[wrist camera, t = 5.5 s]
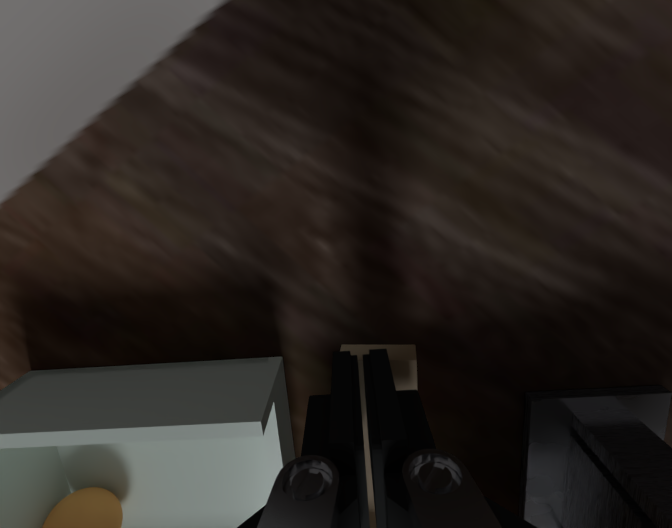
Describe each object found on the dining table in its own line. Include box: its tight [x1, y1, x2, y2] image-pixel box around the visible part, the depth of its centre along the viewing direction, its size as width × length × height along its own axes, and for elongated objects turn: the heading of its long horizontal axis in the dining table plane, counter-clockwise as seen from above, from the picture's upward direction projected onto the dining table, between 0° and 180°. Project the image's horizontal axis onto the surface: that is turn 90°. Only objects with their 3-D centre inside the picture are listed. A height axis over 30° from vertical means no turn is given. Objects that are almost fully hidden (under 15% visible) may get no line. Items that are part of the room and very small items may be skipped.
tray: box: [0, 357, 295, 528], centre depth 17 cm, size 14×12×4 cm
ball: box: [42, 487, 123, 528], centre depth 18 cm, size 3×3×3 cm
